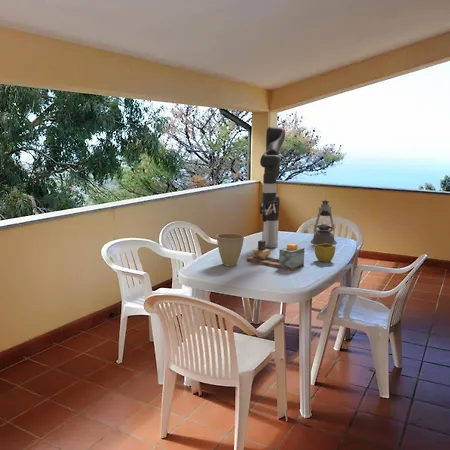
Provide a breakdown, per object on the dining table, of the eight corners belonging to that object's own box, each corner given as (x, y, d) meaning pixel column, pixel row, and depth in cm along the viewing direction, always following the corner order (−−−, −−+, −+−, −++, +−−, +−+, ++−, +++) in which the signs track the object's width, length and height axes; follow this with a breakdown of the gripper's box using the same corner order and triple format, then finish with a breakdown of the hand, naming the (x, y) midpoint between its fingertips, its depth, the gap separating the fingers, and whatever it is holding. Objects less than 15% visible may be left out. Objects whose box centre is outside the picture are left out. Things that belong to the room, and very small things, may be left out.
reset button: (286, 250, 246) (287, 244, 245) (290, 248, 249) (291, 243, 248) (293, 251, 243) (293, 245, 243) (297, 250, 246) (297, 244, 246)
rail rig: (246, 260, 260) (246, 243, 258) (259, 256, 269) (259, 240, 267) (291, 270, 241) (292, 252, 239) (303, 266, 250) (304, 248, 248)
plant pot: (238, 269, 243) (238, 239, 240) (212, 266, 248) (212, 237, 245) (247, 262, 257) (247, 234, 254) (222, 259, 262) (222, 232, 259)
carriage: (253, 257, 260) (253, 241, 259) (259, 255, 265) (259, 239, 263) (263, 259, 256) (263, 242, 254) (269, 257, 260) (270, 241, 259)
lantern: (313, 237, 323) (315, 195, 318) (341, 241, 311) (343, 197, 306) (302, 242, 309) (303, 197, 303) (330, 246, 297) (332, 200, 292)
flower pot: (323, 263, 255) (323, 247, 253) (313, 260, 262) (313, 244, 261) (335, 261, 259) (336, 246, 257) (325, 258, 266) (326, 243, 265)
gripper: (271, 190, 262) (270, 218, 265) (256, 192, 251) (255, 221, 254) (282, 191, 257) (281, 219, 260) (267, 193, 246) (267, 223, 249)
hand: (268, 220), depth 257 cm, fingers open, 8 cm apart
